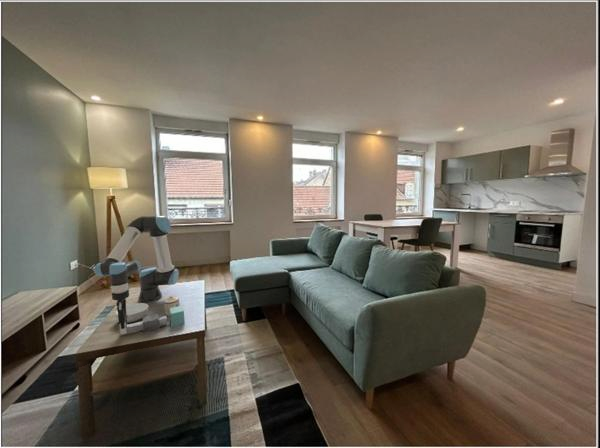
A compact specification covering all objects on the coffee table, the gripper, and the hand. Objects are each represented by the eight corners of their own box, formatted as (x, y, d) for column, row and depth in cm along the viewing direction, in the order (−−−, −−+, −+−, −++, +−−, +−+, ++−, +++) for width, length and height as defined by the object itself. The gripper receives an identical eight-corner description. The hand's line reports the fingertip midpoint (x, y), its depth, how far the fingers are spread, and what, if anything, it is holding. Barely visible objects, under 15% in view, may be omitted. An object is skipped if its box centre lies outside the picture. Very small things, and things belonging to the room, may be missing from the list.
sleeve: (143, 327, 142) (143, 317, 141) (159, 323, 146) (158, 313, 145) (143, 333, 136) (142, 322, 135) (159, 328, 140) (159, 318, 139)
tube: (120, 332, 134) (118, 314, 133) (166, 321, 146) (165, 305, 145) (119, 335, 131) (118, 317, 130) (167, 324, 143) (165, 307, 142)
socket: (170, 320, 150) (169, 308, 149) (183, 317, 153) (182, 305, 152) (171, 326, 142) (170, 313, 141) (184, 323, 146) (183, 310, 145)
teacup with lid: (177, 315, 157) (176, 297, 155) (162, 316, 154) (161, 299, 153) (182, 307, 168) (181, 291, 167) (167, 308, 166) (166, 292, 165)
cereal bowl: (111, 328, 141) (110, 316, 141) (123, 315, 157) (122, 305, 156) (144, 323, 146) (143, 312, 145) (152, 311, 162) (151, 301, 161)
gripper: (113, 287, 136) (117, 326, 139) (109, 297, 122) (113, 341, 125) (129, 285, 140) (133, 323, 143) (127, 294, 126) (130, 336, 128)
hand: (124, 331), depth 134 cm, fingers closed on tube, 4 cm apart
